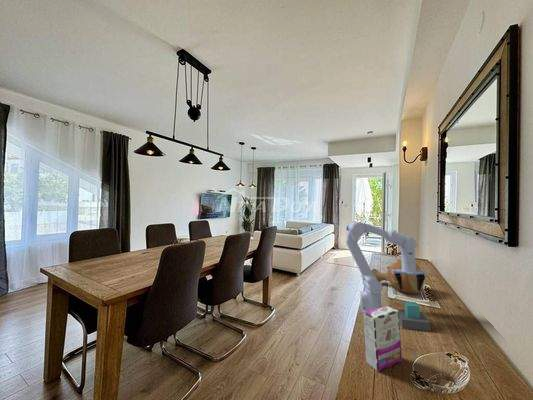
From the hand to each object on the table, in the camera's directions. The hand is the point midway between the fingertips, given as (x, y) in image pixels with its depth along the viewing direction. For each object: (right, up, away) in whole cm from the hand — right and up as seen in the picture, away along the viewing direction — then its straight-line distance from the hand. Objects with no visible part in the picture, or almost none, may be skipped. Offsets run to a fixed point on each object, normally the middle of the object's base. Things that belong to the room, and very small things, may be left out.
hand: (409, 289), depth 112 cm
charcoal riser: (-7, -10, -13) cm, 17 cm away
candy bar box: (-31, -10, -37) cm, 49 cm away
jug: (+11, -11, +29) cm, 33 cm away
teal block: (-7, -6, -13) cm, 16 cm away
